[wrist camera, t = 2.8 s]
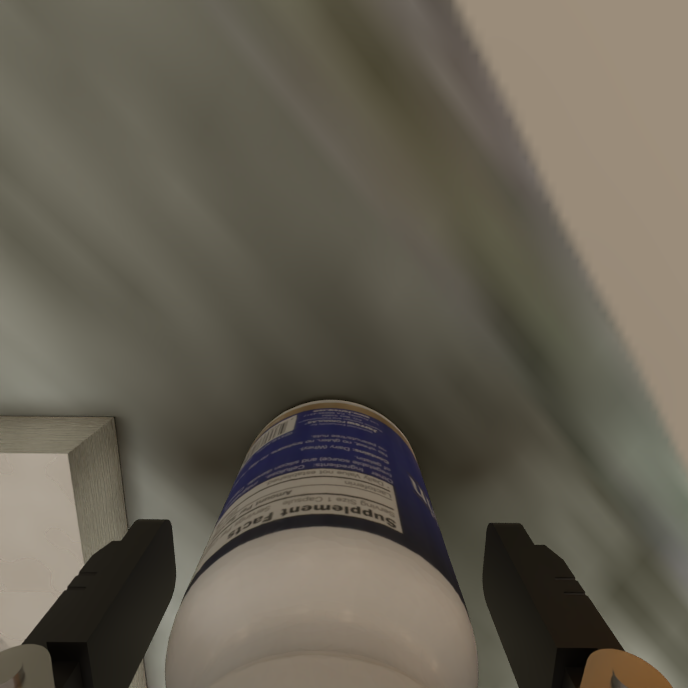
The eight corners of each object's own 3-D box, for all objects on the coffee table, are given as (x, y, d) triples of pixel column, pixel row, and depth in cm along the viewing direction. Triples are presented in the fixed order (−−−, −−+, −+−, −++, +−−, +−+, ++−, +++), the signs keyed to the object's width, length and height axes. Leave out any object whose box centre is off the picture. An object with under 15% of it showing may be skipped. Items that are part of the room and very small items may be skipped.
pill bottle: (415, 548, 16) (531, 1058, 6) (251, 549, 16) (98, 1061, 6) (420, 391, 14) (579, 720, 5) (240, 393, 14) (20, 724, 5)
